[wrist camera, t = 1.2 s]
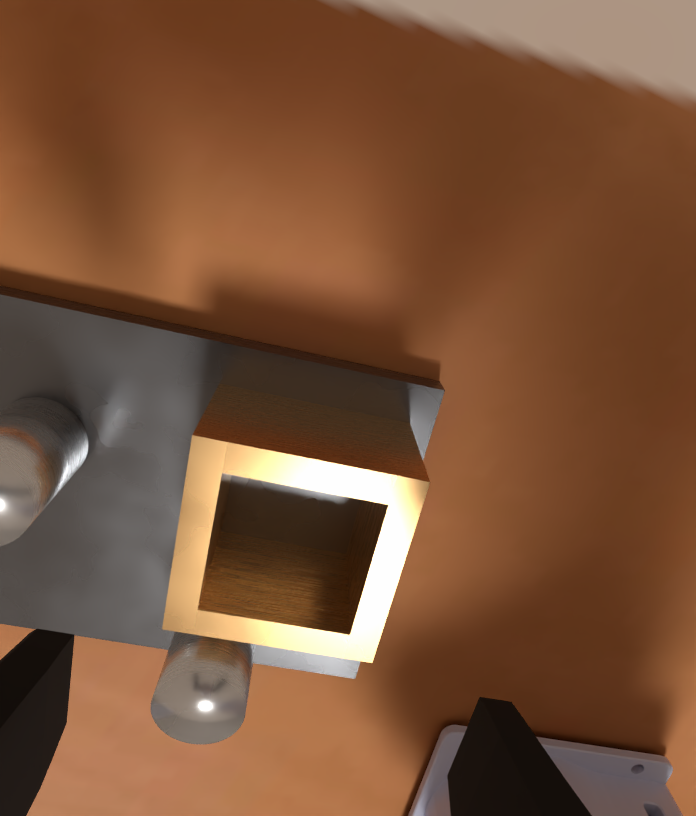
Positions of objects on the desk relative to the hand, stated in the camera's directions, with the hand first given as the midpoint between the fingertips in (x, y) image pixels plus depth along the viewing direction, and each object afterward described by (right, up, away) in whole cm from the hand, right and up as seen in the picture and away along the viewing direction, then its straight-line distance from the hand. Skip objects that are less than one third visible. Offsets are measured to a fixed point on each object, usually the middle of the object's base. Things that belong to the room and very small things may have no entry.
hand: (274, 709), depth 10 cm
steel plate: (-5, +3, +8) cm, 10 cm away
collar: (0, +3, +8) cm, 8 cm away
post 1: (-8, +5, +7) cm, 12 cm away
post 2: (-3, -1, +10) cm, 11 cm away
